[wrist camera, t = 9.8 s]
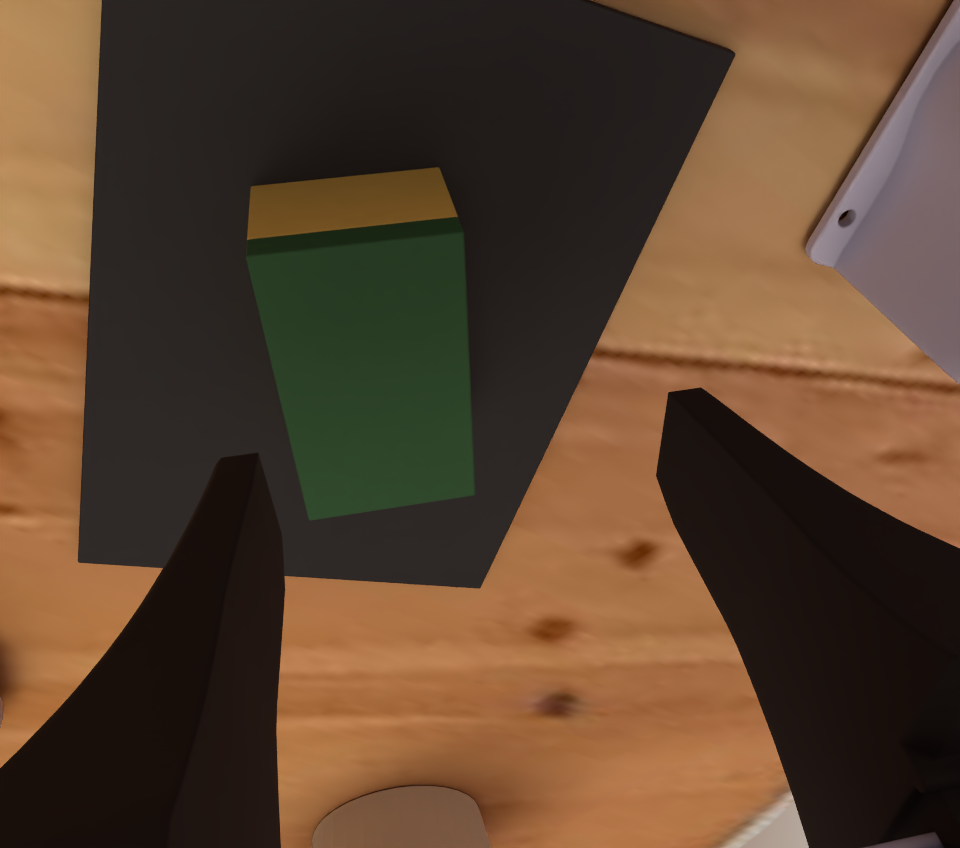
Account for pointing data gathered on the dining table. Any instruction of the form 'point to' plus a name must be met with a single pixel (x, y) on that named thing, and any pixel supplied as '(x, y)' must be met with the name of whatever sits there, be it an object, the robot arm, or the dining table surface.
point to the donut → (1, 711)
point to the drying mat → (350, 152)
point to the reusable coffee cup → (405, 821)
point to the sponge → (367, 336)
